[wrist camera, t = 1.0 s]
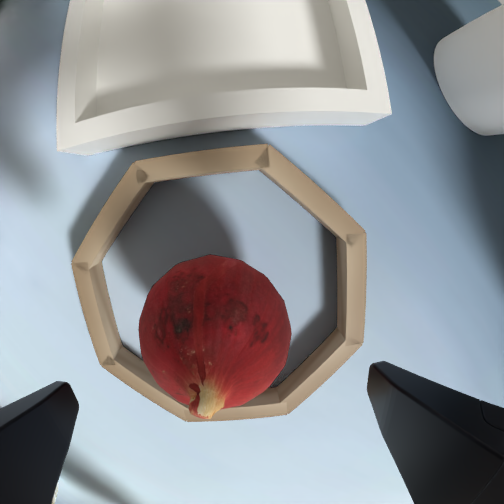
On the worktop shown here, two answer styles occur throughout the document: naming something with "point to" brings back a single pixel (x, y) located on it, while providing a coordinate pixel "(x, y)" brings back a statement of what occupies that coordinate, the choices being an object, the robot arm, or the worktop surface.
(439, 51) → the cylindrical container
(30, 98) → the worktop surface
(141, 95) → the tray
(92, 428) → the worktop surface
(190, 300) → the onion
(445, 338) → the worktop surface
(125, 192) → the ring collar
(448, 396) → the robot arm
